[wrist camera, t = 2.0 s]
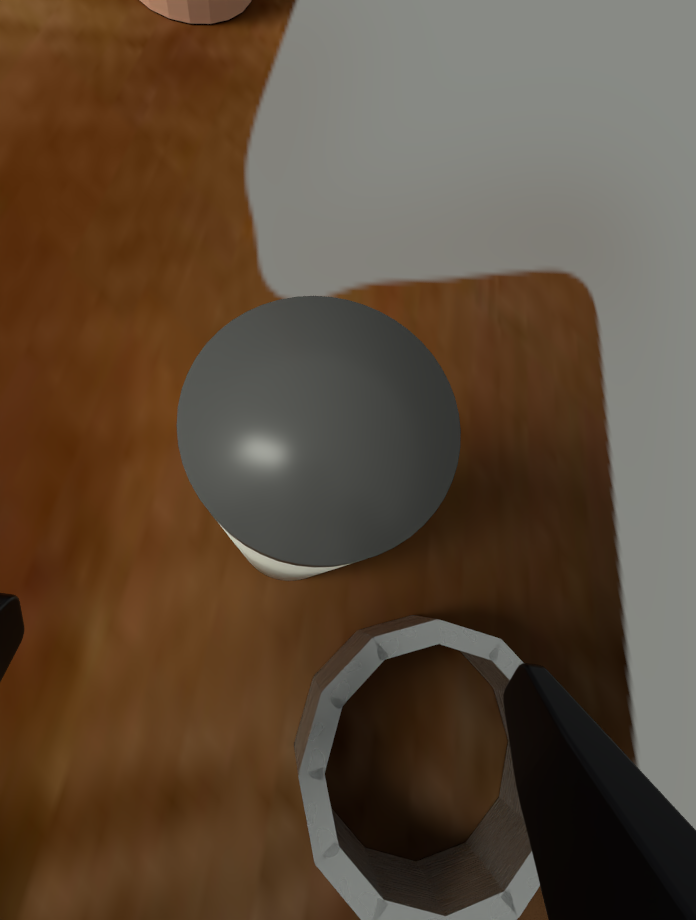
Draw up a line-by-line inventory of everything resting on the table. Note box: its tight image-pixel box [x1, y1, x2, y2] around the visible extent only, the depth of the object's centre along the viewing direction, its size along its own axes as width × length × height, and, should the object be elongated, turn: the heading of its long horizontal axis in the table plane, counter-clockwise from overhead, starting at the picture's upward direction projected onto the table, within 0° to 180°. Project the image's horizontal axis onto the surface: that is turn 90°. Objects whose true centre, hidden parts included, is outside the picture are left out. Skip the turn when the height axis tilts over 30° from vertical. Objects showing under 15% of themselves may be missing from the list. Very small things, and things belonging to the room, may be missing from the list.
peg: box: [177, 296, 461, 581], centre depth 13 cm, size 4×4×13 cm
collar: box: [294, 615, 540, 920], centre depth 17 cm, size 9×9×3 cm
